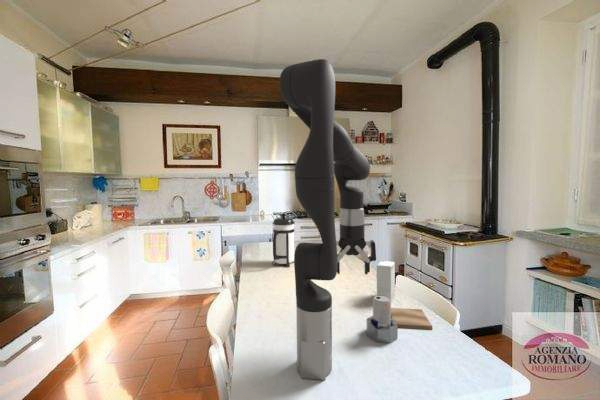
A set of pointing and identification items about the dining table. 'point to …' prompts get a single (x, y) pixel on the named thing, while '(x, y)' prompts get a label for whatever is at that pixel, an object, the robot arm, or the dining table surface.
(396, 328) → the metal collar
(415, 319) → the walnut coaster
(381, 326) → the energy drink
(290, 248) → the coffee press
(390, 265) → the skincare box
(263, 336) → the dining table surface
